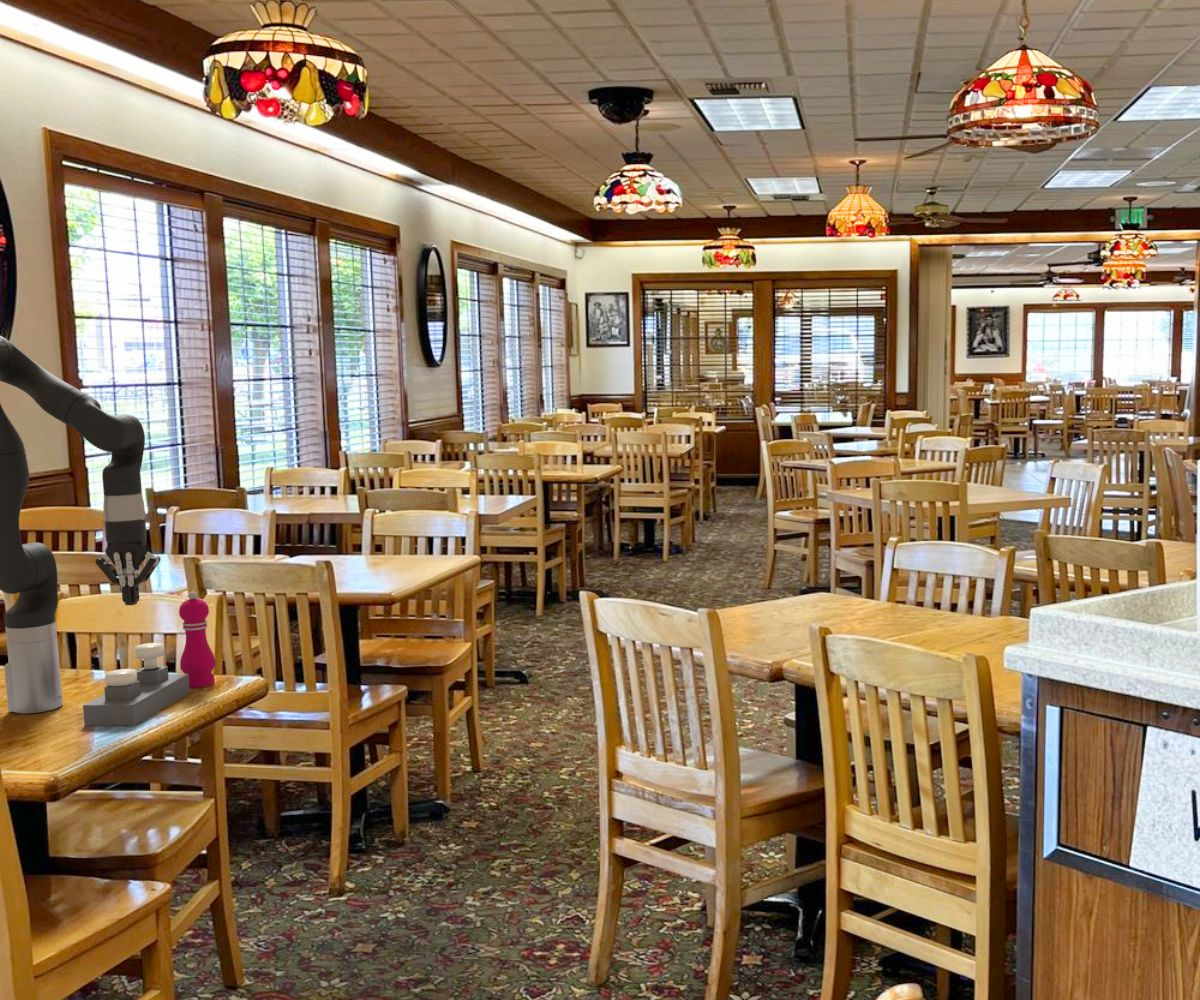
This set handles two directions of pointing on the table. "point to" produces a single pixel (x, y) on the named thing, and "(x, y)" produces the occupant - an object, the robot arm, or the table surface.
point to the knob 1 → (121, 677)
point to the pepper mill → (196, 643)
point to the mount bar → (136, 698)
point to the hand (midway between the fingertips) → (131, 604)
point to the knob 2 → (149, 653)
